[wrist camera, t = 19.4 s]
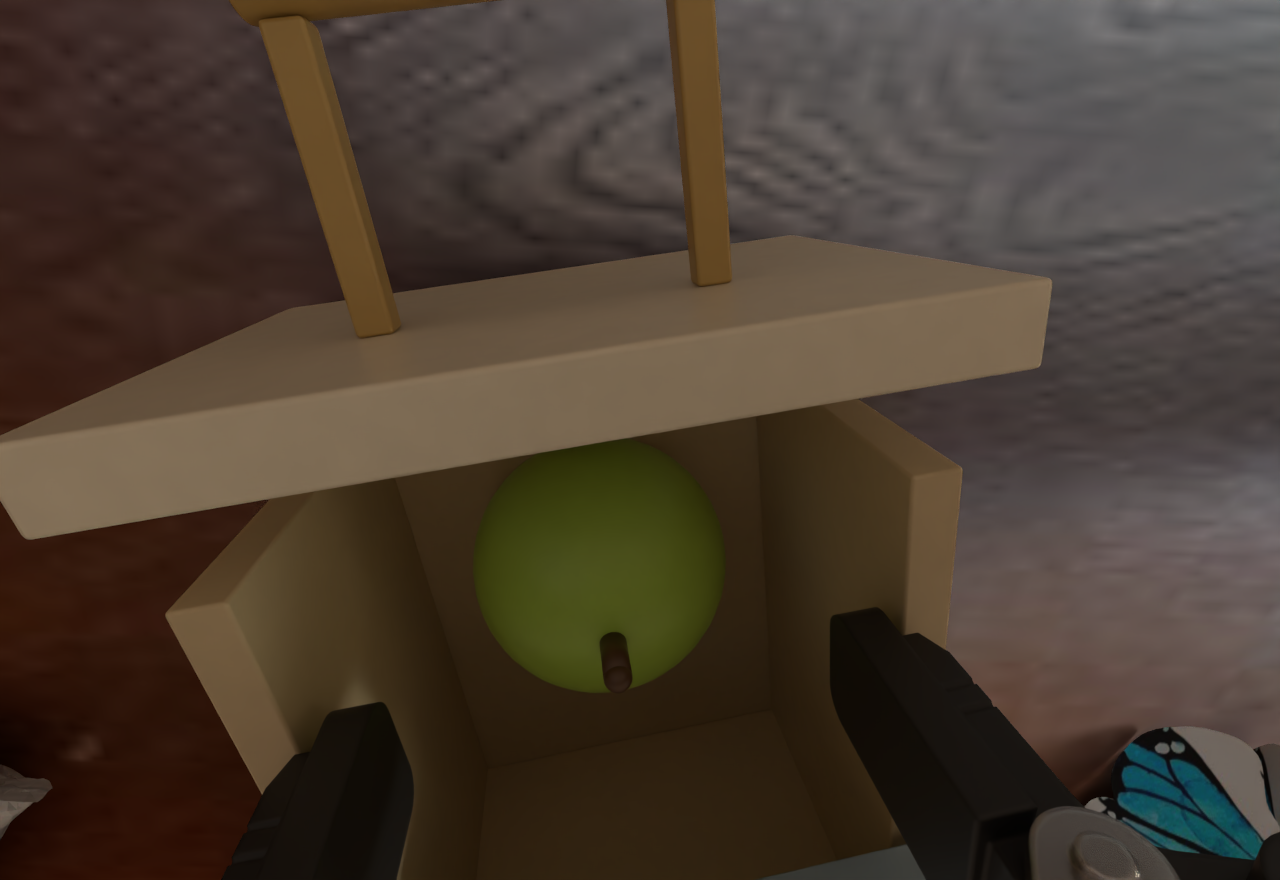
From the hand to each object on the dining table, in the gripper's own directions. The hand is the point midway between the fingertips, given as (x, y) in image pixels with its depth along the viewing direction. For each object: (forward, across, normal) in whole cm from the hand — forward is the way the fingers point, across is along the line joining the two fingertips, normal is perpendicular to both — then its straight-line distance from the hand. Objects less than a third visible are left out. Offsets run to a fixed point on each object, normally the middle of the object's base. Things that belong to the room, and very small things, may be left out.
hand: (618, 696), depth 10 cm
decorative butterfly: (+9, -24, +22) cm, 33 cm away
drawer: (+8, 0, -1) cm, 8 cm away
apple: (+7, 0, 0) cm, 7 cm away
